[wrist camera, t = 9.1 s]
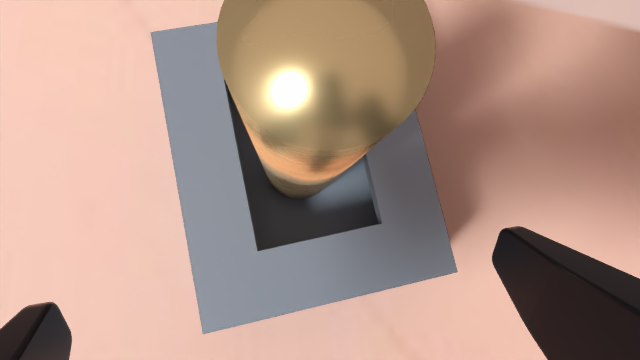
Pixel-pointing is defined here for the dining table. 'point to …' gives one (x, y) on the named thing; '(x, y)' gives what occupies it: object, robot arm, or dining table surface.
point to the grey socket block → (288, 204)
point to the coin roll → (322, 80)
